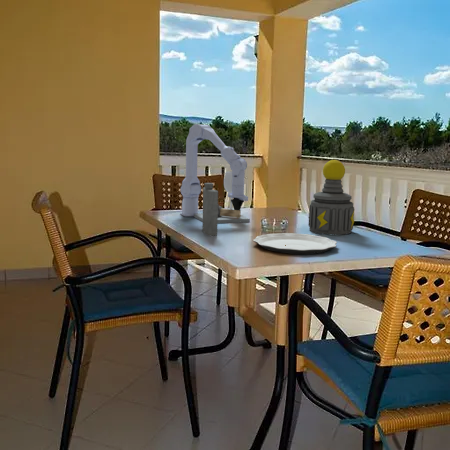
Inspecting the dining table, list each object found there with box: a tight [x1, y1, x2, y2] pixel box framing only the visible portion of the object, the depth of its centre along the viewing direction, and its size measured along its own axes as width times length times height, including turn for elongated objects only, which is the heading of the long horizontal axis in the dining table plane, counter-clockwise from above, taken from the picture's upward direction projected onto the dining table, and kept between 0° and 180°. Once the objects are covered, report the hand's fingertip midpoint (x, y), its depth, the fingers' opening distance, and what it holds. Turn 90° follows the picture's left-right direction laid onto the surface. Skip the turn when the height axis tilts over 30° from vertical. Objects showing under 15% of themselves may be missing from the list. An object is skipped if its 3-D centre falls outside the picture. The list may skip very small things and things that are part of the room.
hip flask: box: [201, 182, 219, 237], centre depth 207 cm, size 16×4×20 cm, turn 14°
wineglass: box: [223, 170, 234, 210], centre depth 260 cm, size 9×9×21 cm
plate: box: [252, 232, 338, 255], centre depth 186 cm, size 29×29×2 cm
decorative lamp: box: [307, 159, 355, 236], centre depth 216 cm, size 19×19×30 cm
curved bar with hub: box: [218, 204, 242, 218], centre depth 241 cm, size 19×5×5 cm, turn 59°
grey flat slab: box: [193, 212, 251, 224], centre depth 243 cm, size 20×22×2 cm
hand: (237, 214), depth 239 cm, fingers closed, pressing on curved bar with hub
